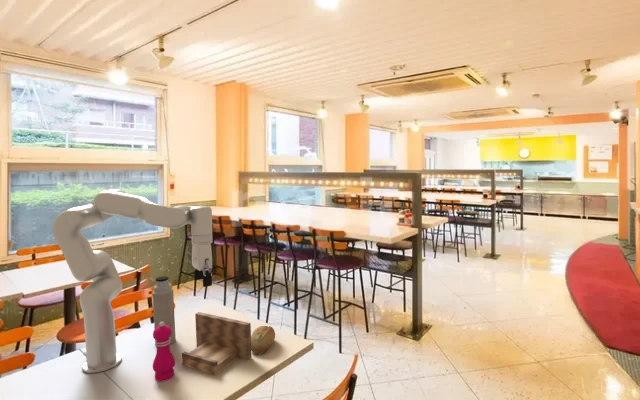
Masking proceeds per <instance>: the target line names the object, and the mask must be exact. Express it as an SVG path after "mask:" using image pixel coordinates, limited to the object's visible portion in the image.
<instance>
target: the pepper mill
mask: <svg viewBox="0 0 640 400" xmlns="http://www.w3.org/2000/svg"><path fill="white" fill-rule="evenodd" d="M171 334H172V330H171V328H170V327H169V326H168V325H165V323H164V322H160V323H159V326H158V327H157V328H155V330H153V332H152V337H153V339H154V345H155V346H156V354H155V357H154V359H153V362H152V370H153V371H154V379H155V381H157V382H165V381H168V380H171V379H172V378H174V376H175V369H174V367H175V365H176V358H175V356H174V354H173V353H172V351H171V347H170V346H171V345H169V343H170V342H171V341H170V339H171V338H170V336H171Z"/></svg>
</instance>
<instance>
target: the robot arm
mask: <svg viewBox="0 0 640 400" xmlns="http://www.w3.org/2000/svg"><path fill="white" fill-rule="evenodd" d="M114 216H118V217H121V218H122V217H123V218H127V219H132V220H138V221H141V222H143V223H145V224H149V225H152V226H157V227H162V228H167V229H168V228H169V229H181V228H182V227H184V226H186V225H190V227H191V228H190V229H191V230H190V232H191V233H190V236H191V245H192V247H191V266H192V267H193V271H194V276H193V277H194V281H200V280H202V287H203V288H206V287H211V286H212V285H213V282H212V281H213V253H212V252H213V251H212V243H213V242H214V241H213V211H212V207H211V206H208V205H196V206H195V205H194V206H193V205H186V204H185V205H184V204H181V205H177V206H173V207H172V206H167V205H162V204H157V203H153V202H151V201H150V200H149V199H147V198H146V197H145V196H140V195H135V194H129V193H127V192H125V191H124V190H121V189H116V188H115V189H108V190H107V189H106V190H103V191H99V192H98V193H96V195H95V196H94V198H93V201H92V202H90V203H88V204H86V205H81V206H74V207H71V208H68V209H65V210H64V211H62V212H61V213H59V215H57V217H56V218H55V220H54V222H53V225H52V234H53V236H54V238H55V241H56V243H57V244H58V247H59V248H60V250H61V253H62V254H63V257H64V259H65V261H66V264H67V265H68V268H69V270H70V272H71V274H72V276H73V278H74V279H75V280H76V281H78V282H82V283H85V282H88V281H92V282H91V283H89V284H88V285H87V286H86V287H85V288H84V289H82V291H81V293H80V295H79V306H80V308H81V311H82V317H83V326H84V339H85V340H84V341H85V352H83V356H85V359H86V360H85V361H84V362H83V364H82V366H81V368H82V371H83V372H85V373H88V374H96V373H97V374H98V373H101V372H105V371H108V370H111V369H113V368H114V367H116V366H117V365H120V363H121V361H122V355H121V354H120V353H118V352H117V341H116V340H117V339H116V338H117V337H116V325H115V314H114V310H113V307H112V305H111V304H112V303H111V302H112V301H113V300H114V299H115V298H116V297H117V296H119V295H120V294H121V292H122V290H123V282H122V280H121V277H120V275H119V273H118V270H117V268H116V265H115V264H114V261H113V259H112V257H111V256H110V254H108V253H107V252H106V251H104V250H99V249H94V250H93V249H92V247H91V244H90V242H89V240H88V238H87V237H86V235H85V236H84V234H83V233H82V231H83V230H86V229H89V228H92V227H96V226H98V225H100V224H101V223H104V222H105V221H107V220H108V219H110V218H112V217H114Z"/></svg>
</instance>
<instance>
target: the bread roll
mask: <svg viewBox="0 0 640 400" xmlns="http://www.w3.org/2000/svg"><path fill="white" fill-rule="evenodd" d="M275 339H276V331H275V329H274V328H273V327H272V326H271V325H269V326H268V325H261V326H258V327H257V328H256V329H254V331H253V332H251V353H253V354H256V355H260V354H263V353H265V352H267V350H268V349H269V348H270V347H271V346H272V344H273V342H274V341H275Z"/></svg>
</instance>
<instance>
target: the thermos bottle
mask: <svg viewBox="0 0 640 400" xmlns="http://www.w3.org/2000/svg"><path fill="white" fill-rule="evenodd" d="M174 298H175V297H174V289H173V288H172V283H170V282H169V276H168V275H167V276H164V275H163V276H158V277H156V278H155V285H154V286H153V291H152V310H153V324H154V330H155V328H157V327H158V326H159V323H160V322H164V323H165V325H168V326H169V327H170V328H171V330H172V334H171V336H170V338H171V339H170V341H171V342H170V343H169V346H171V345H173V344H174V343H175V342H176V340H177V339H176V318H175V302H174V301H175V300H174ZM154 330H153V331H154Z"/></svg>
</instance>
